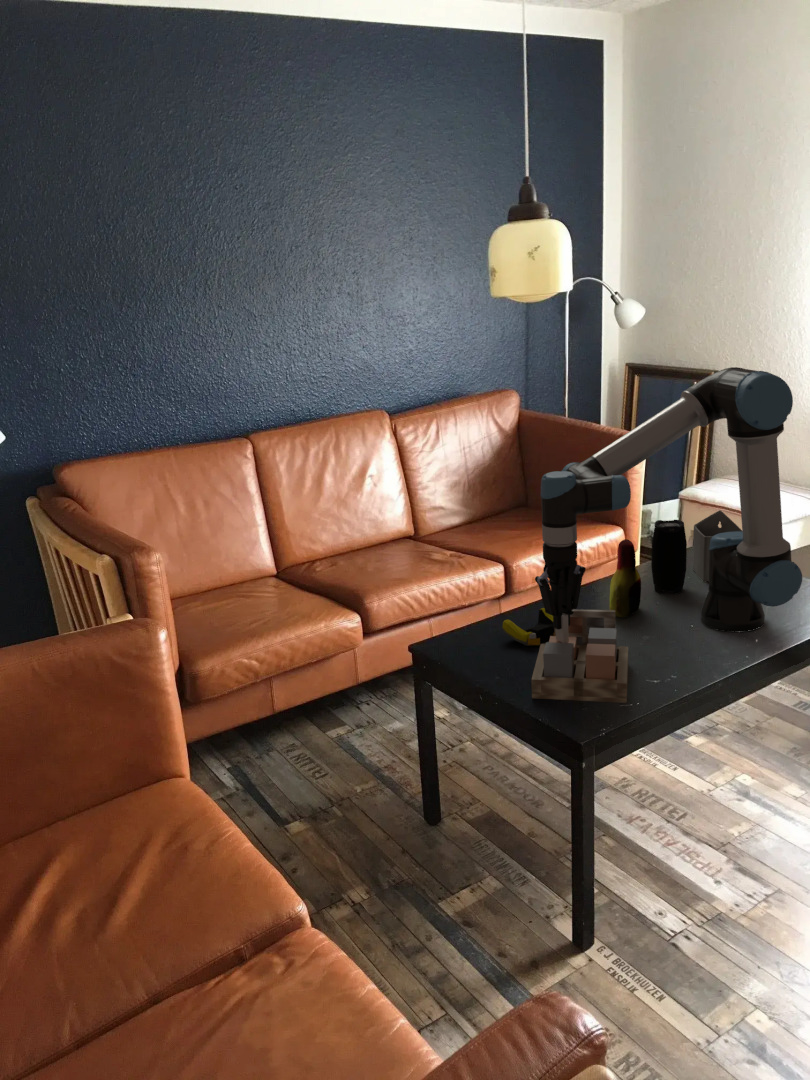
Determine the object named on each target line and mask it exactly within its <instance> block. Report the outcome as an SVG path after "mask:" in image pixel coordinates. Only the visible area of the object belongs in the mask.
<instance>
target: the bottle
mask: <svg viewBox="0 0 810 1080" xmlns="http://www.w3.org/2000/svg"><path fill="white" fill-rule="evenodd" d="M636 563H637V561H636V551H635V546H634V543H633V542H632V541H631V540H630V539H623V540H621V541H620V542H619V543H618V545H617V562H616V569H615V572H614V574H613V576H612V577H611V580H610V584H609V600H608V601H609V610H615V617H619V618H628V617H630V616H631V615H633V614H635V613H636V612H637V611H639V608H640V605H641V597H642V581H641V580H642V579H641V575H640V573H639V570H638V569H637V568H636Z"/></svg>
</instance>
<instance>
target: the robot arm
mask: <svg viewBox="0 0 810 1080" xmlns="http://www.w3.org/2000/svg"><path fill="white" fill-rule="evenodd" d="M793 399H794V398H793V393H792V390H791V388H790V386H789V385H788V383H787V382H786V381H785V380H784V379H783V378H782V377H779V375H776V374H773V373H770V372H768V371H763V370H754V369H747V368H744V367H736V366H735V367H734V366H733V367H727V368H724V369H720V370H718V371H716V372H713V373H712V374H710V375H708V376H706V377H704V378H703V379H701V380H699V381H698V382H696V383H694V384H693V385H691V386H690V387H688V388H687V389H685V390H683V391H682V392H681V394H680V398H679V399H677V400H676V401H675V402H672V403H671V404H669V405H668V406H667V407H665V408H664V409H662V410H661V411H659V412H658V413H656V414H655V415H653V416H651V417H649V418H648V419H646V421H644V422H642V423H640V424H639V425H638V426H636V427H635V428H633V429H631V430H630V431H628V432H627V433H625V434H624V435H622V436H620V437H619V438H617V439H616V440H614V441H613V442H611V443H610V444H608V445H607V446H605V447H603V448H602V449H600V450H599V451H598V452H595V453H594V454H592V455H591V456H590V457H588V458H586V459H584V460H583V461H582V462H574V461H573V462H570V463H568V464H566V465H565V466H564V467H563V468H562V470H561V471H559V470H556V471H550V472H546V473H544V474H543V475H542V477H541V481H540V493H539V494H540V495H539V497H540V503H541V505H540V506H541V529H542V530H541V532H542V533H541V534H542V536H541V537H542V542H543V543H542V559H543V561H544V566H543V569H542V570H543V572H542V573H541V575H540V576H538V575H537V576H535V577H534V582H535V583H536V584H537V585H538V588H539V591H540V596H541V600H542V604H543V608H545V612H546V613H548V614H550V615H552V616H553V626H554V628H556V640H558V641H560V642H562V643H566V642H569V633H568V626H570V615H572V614H573V613H574V612H573V611H572V610H573V609H577V610H578V606H579V600H580V593H581V590H582V589H581V587H582V582H583V577H584V575H585V573H586V570H587V569H586V567H585V566H582V565H579V564H578V561H577V558H578V543H577V540H578V525H577V524H578V523H577V522H578V520H577V518H578V517H577V516H578V515H583V514H589V513H590V514H591V513H599V512H609V511H610V512H613V511H617V510H622V509H626V508H627V507H628V506H629V504H630V502H631V498H632V490H631V486H630V482H629V480H628V478H627V477H626V476H625V475H624V474H625V473H627V472H628V471H630V470H631V469H633V468H635V467H636V466H638V465H639V464H641V463H642V462H644V461H645V460H647V459H649V458H650V457H651V456H653V455H655V454H656V453H658V452H659V451H661V450H663V449H664V448H665V447H667V446H669V445H671V444H672V443H673V442H675V441H677V440H678V439H680V438H682V437H683V436H685V435H686V434H688V433H689V432H691V431H692V430H694V429H695V428H697V427H703V428H705V427H707V426H708V425H710V424H712V423H714V422H716V421H718V420H719V421H720V420H723V419H724V420H725V419H726V427H727V428H726V429H727V436H728V438H730V439H731V440H733V441H734V442H735V448H736V450H735V451H736V462H737V476H738V478H737V479H738V489H739V492H738V493H739V500H740V501H739V503H740V514H741V515H740V517H741V519H740V520H741V530H742V531H736V532H725V533H719V534H716V535H714V536H713V537H712V538H711V540H710V547H709V551H710V556H709V582H708V592H707V594H706V597H705V600H704V603H703V605H702V607H701V609H700V610H701V611H700V621H701V623H702V624H703V625H704V626H706V627H709V628H711V629H713V630H716V629H718V631H720V630H724V631H723V632H727V631H734V632H733V633H736V632H735V631H748V630H753V629H756V628H758V627H761V626H762V625H763V624H765V615H766V614H765V610H764V608H763V605H764V606H766V607H777V606H781V605H784V604H787V603H788V602H789V601H791V600H793V598H794V596H795V595H796V594H798V592H799V590H800V588H801V586H802V584H803V583H802V582H803V574H802V571H801V568H800V566H799V565H798V564H797V563H796V562H795V561H793V560H792V547H791V543H790V542H789V541H788V540H786V539H785V538H784V534H783V533H784V532H783V518H782V517H783V516H782V515H783V514H782V501H781V500H782V498H781V485H780V484H781V483H780V482H781V481H780V468H779V467H780V466H779V465H780V463H779V451H778V437H779V436H780V435H781V434H782V433H783V432H784V430H785V427H784V425H785V422H786V421H787V420H788V416H789V415H791V412H792V409H793V405H794V400H793ZM763 626H764V625H763ZM763 626H762V627H763ZM762 627H761V628H762ZM756 630H757V629H756ZM753 631H754V630H753ZM748 632H749V631H748Z"/></svg>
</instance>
